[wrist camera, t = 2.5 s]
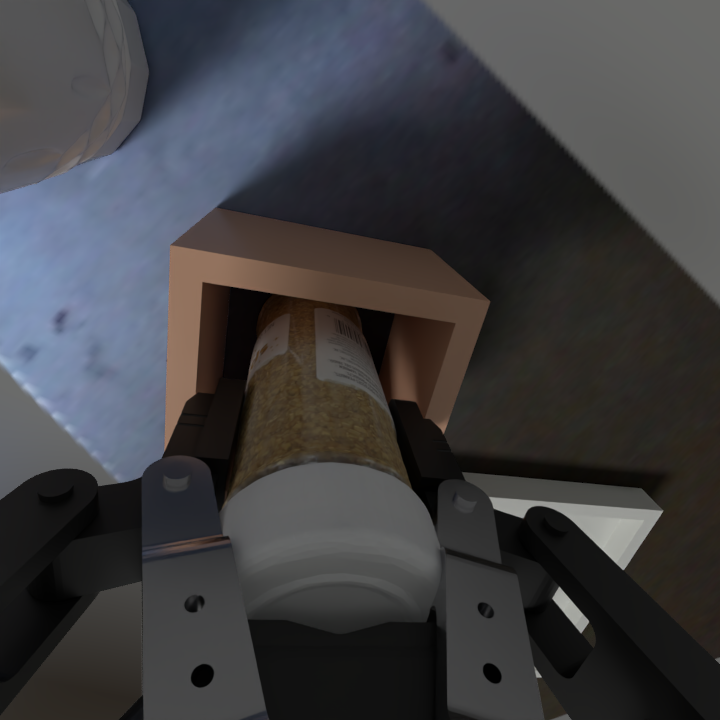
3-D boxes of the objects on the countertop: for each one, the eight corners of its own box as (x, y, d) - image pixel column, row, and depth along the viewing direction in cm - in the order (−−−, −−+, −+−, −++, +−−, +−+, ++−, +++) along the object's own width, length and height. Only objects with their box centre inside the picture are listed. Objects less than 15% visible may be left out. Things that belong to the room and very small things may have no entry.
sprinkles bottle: (239, 298, 18) (124, 603, 6) (343, 262, 18) (427, 505, 6) (282, 387, 20) (255, 741, 8) (375, 355, 20) (483, 670, 8)
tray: (641, 488, 26) (663, 510, 25) (539, 651, 33) (551, 677, 31) (384, 465, 23) (390, 489, 22) (329, 650, 30) (330, 679, 28)
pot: (430, 249, 18) (490, 301, 13) (382, 421, 22) (412, 522, 16) (215, 207, 17) (170, 244, 11) (202, 400, 20) (162, 506, 14)
